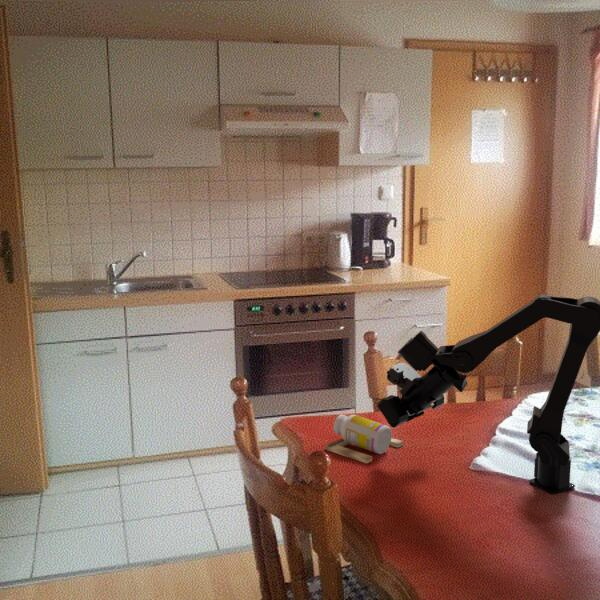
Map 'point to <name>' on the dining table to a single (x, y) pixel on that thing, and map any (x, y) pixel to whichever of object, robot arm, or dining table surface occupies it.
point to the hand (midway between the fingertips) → (389, 422)
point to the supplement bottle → (363, 432)
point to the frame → (340, 449)
